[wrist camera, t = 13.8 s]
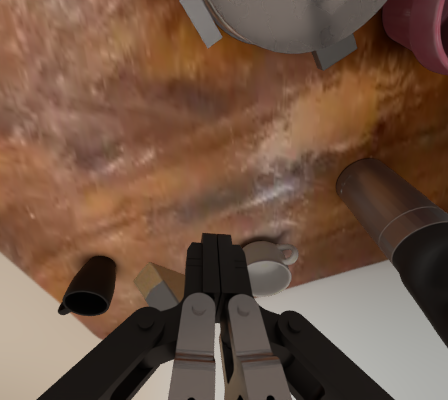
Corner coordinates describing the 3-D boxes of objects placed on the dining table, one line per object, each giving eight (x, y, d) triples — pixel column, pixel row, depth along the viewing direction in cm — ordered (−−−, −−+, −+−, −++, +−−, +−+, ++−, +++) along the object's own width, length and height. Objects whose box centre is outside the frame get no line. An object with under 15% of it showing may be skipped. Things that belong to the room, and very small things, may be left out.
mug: (60, 267, 55) (37, 308, 47) (102, 245, 52) (85, 285, 44) (89, 286, 59) (72, 326, 51) (130, 267, 56) (118, 307, 49)
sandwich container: (149, 259, 56) (134, 327, 44) (206, 282, 62) (207, 347, 50) (131, 281, 59) (113, 348, 47) (187, 300, 65) (184, 365, 53)
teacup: (249, 273, 61) (255, 304, 54) (223, 248, 55) (226, 279, 49) (302, 247, 57) (315, 276, 50) (280, 217, 51) (291, 246, 45)
